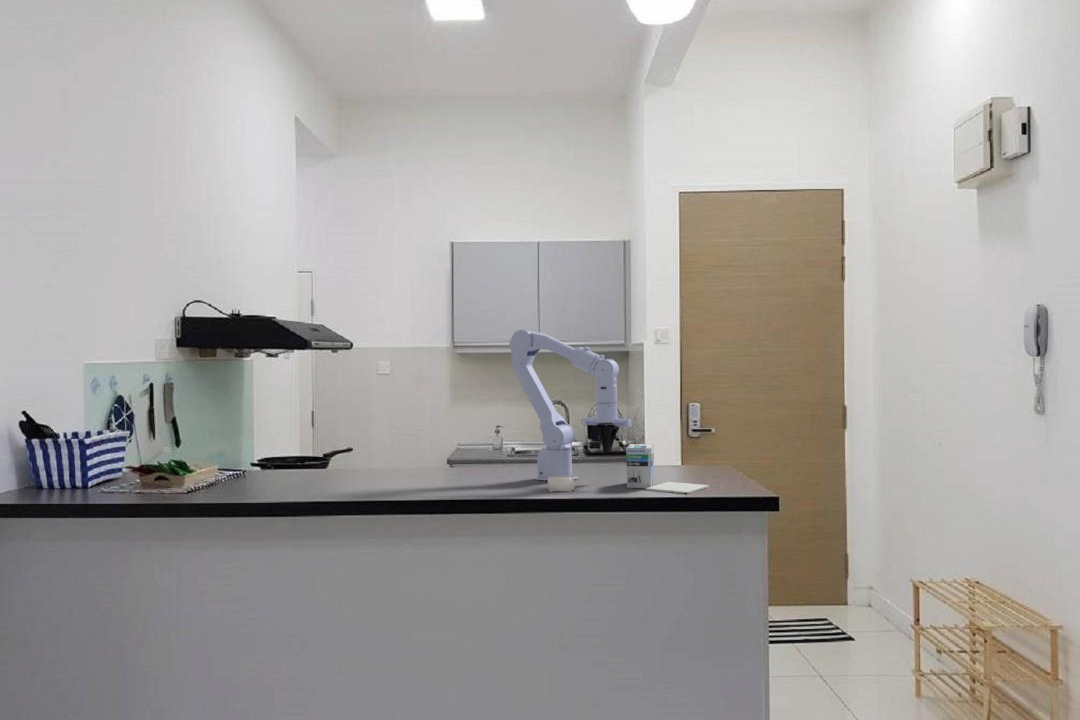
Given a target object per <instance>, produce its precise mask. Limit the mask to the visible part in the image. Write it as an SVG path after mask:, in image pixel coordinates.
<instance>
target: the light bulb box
mask: <svg viewBox="0 0 1080 720" xmlns="http://www.w3.org/2000/svg"><path fill="white" fill-rule="evenodd" d="M625 451H626V456H625V457H626V488H628V489H629V488H630V489H646V488H649V487H652V486H654V484H655V446H654V444H646V443H641V444H640V443H630V444H629V445H628V446H627V447H626V449H625Z"/></svg>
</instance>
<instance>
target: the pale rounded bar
mask: <svg viewBox="0 0 1080 720" xmlns="http://www.w3.org/2000/svg"><path fill="white" fill-rule="evenodd" d="M574 477H575V476H574V475H572V476H569V475H554V476H549V477H548V481H547V491H548V490H552V491H569V492H572V491H571V490H574V491H575V479H574ZM552 491H551V492H552Z"/></svg>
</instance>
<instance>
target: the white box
mask: <svg viewBox="0 0 1080 720" xmlns="http://www.w3.org/2000/svg"><path fill="white" fill-rule="evenodd" d="M704 488H705V489H707V488H710V485H709V484H697V483H689V482H688V483H687V482H674V481H666V482H663V483H659V484H656V485H653V486H652V487H649V488H645V491H648V492H649V491H650V492H661V493H670V492H673V493H672V494H681V493H687V494H686V495H689V494H688V493H690V494H693V493H696V492H698V490H699V491H702V490H704ZM701 489H702V490H701ZM695 491H696V492H695ZM692 492H693V493H692Z"/></svg>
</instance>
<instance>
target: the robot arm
mask: <svg viewBox="0 0 1080 720" xmlns="http://www.w3.org/2000/svg"><path fill="white" fill-rule="evenodd" d="M508 346H509V348H510V353H511V354H510V355H511V356H510V357H511V358H510V360H511V368H512V371H513V372H514V374H515V376H516V378H517V381H518V382H519V383H520V385H521V387H522V389H523V391H524V394H526V396H527V399H528V400H529V402H530V404H531V406H532V407H533V409H534V411H535V413H536V415H537V417H538V419H539V421H540V423H539V424H540V425H539V429H540V431H541V433H542V442H543V443H544V445H545V447H543V448H540V449H539V450H538V453H537V462H536V465H537V467H536V469H537V472H536V473H537V477H536V478H535V479H536V480H537V481H546V480H547V481H546V482H548V477H549V476H554V475H569V476H573V473H572V472H573V463H572V462H573V460H572V459H573V454H572V452H573V451H572V449H573V447H572V443H573V442H574V439H575V435H576V434H575V430H574V428H573V427H572V426H571V424H568V423H567V422H566V420H565V418H564V417H563V416H562V415H560V413H558V412H557V411H558V410H557V409H556V407H555V406H554V404H553V402H552V401H551V399H550V397H549V395H548V393H547V391H546V390H545V387H544V385H543V383H542V382H541V380H540V379H539V376H538V375H537V373H536V371H535V369H534V367H533V362H534V360H535V358H536V356H537V354H538V353H539V352H540V351H541V350H547V351H550V352H553V353H555V354H558V355H559V356H562V357H563V358H564V357H565V358H567V359H569V360H570V362H571V364H572V366H573V367H576V368H577V369H580V370H582V371H584V372H585V373H588V374H590V375H593V376H594V377H595V379H596V382H595V383H596V387H595V389H596V391H595V393H596V394H595V395H596V401H595V402H596V403H595V405H596V417H583V418H582V425H583V426H596V427H594V431H595V432H596V434H597V436H598V438H599V440H600V444H601V446H602V450H603V453H612V449H613V444H614V441H615V438H616V436H617V434H618V432H619V430H620V427H625V428H629V427H633V426H632V425H633V423H632V419H628V418H619V417H618V385H617V379H618V375H619V373H620V365H619V364H618V363H617V361H615V360H614V359H612V358H606V359H605V355H604V354H598V353H596V352H593V351H592V350H591V348H590V347H588V346H584V347H583V346H580V347H578V348H574V347H573V346H570V345H568V344H566V343H565V342H562V341H561V340H559V339H557V338H555V337H553V336H552V335H550V334H546V333H544V332H540V331H538V330H534V329H532V330H531V329H530V330H524V329H518V330H516V331H515V332H513V334H512V335H511V338H510V341H509V344H508ZM577 478H578V479H579V477H578V476H574V480H577Z"/></svg>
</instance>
